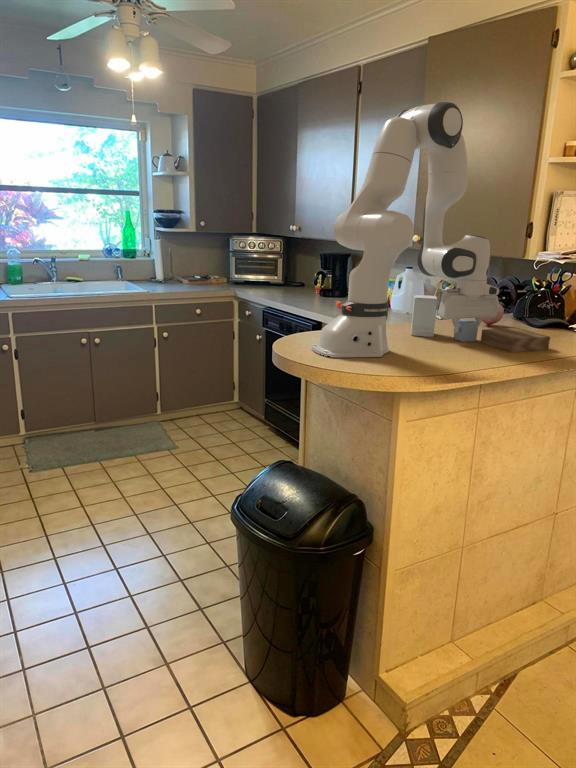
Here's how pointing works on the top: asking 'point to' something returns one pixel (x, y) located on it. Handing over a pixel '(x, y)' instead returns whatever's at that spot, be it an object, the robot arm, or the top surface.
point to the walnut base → (515, 339)
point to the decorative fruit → (497, 318)
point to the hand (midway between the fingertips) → (465, 331)
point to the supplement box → (423, 315)
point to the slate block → (467, 331)
